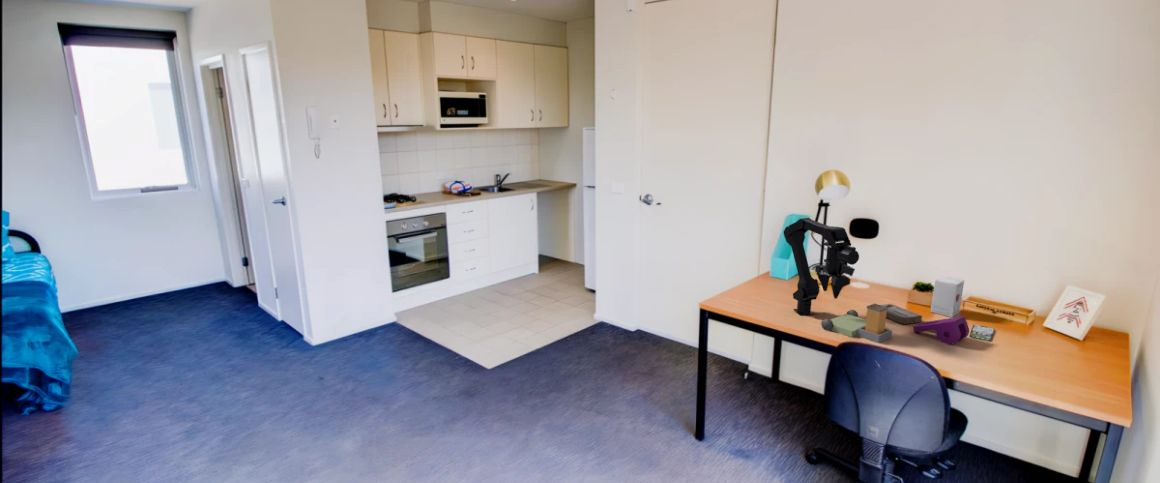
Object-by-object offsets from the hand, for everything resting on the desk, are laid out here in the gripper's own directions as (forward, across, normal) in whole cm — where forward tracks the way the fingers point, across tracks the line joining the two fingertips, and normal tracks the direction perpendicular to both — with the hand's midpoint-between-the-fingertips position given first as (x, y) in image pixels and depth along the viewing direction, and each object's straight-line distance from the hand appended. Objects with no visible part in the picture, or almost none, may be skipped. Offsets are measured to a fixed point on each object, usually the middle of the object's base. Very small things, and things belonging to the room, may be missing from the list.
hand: (830, 294), depth 252 cm
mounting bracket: (+14, -16, -37) cm, 43 cm away
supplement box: (+13, +8, -57) cm, 59 cm away
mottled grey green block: (+14, -16, -56) cm, 60 cm away
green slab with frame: (+13, -9, -9) cm, 18 cm away
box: (+14, +5, -33) cm, 36 cm away
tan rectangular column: (+13, -14, -12) cm, 23 cm away
